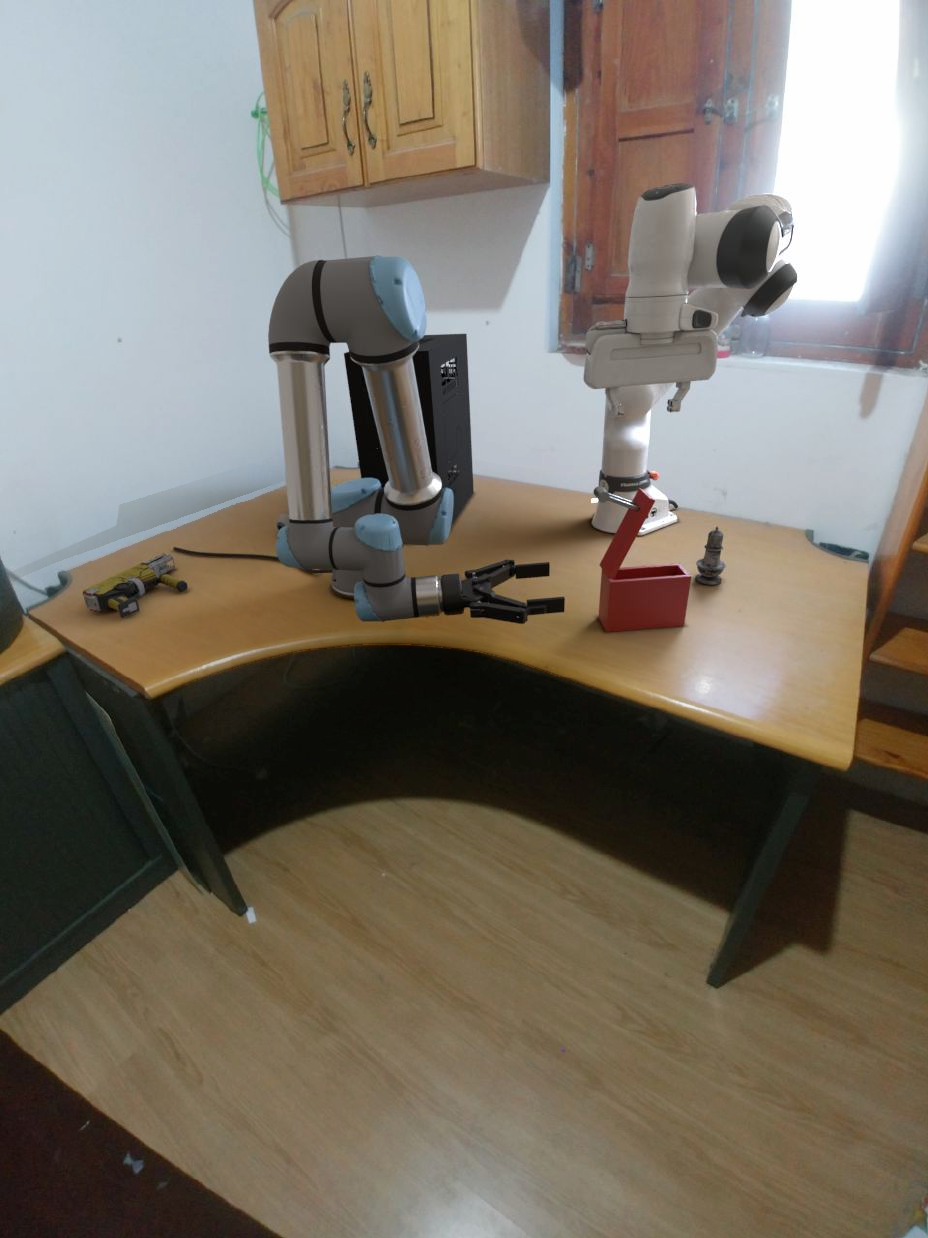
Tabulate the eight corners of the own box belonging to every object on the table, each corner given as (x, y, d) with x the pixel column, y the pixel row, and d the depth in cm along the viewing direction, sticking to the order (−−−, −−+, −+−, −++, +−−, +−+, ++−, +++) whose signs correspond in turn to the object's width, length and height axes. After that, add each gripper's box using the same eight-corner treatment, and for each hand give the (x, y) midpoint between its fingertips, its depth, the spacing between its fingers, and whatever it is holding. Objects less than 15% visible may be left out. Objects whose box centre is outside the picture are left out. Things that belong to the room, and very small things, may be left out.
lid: (644, 489, 106) (598, 473, 104) (655, 500, 101) (607, 483, 99) (604, 566, 113) (561, 552, 111) (613, 580, 108) (567, 565, 106)
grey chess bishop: (725, 585, 126) (735, 532, 120) (695, 584, 127) (704, 531, 121) (720, 573, 131) (730, 521, 125) (692, 572, 132) (700, 520, 126)
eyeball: (273, 537, 164) (268, 516, 161) (287, 528, 169) (282, 508, 166) (291, 539, 161) (286, 518, 158) (305, 530, 166) (301, 510, 163)
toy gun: (211, 561, 143) (160, 551, 147) (132, 605, 123) (75, 591, 127) (214, 579, 146) (164, 568, 150) (137, 625, 126) (81, 610, 130)
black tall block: (442, 539, 156) (428, 350, 134) (369, 536, 161) (343, 353, 138) (473, 492, 188) (466, 333, 165) (411, 491, 192) (396, 335, 170)
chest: (673, 611, 119) (679, 563, 113) (684, 625, 114) (691, 576, 109) (598, 616, 118) (601, 568, 113) (606, 631, 113) (610, 582, 108)
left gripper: (440, 581, 122) (543, 573, 123) (445, 651, 101) (570, 640, 102) (437, 548, 119) (544, 539, 119) (442, 613, 97) (572, 601, 98)
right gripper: (593, 323, 86) (588, 423, 93) (729, 314, 88) (714, 412, 95) (579, 320, 91) (576, 415, 98) (707, 312, 93) (695, 405, 100)
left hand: (556, 585), depth 111 cm, fingers open, 13 cm apart
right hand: (645, 413), depth 96 cm, fingers open, 8 cm apart
